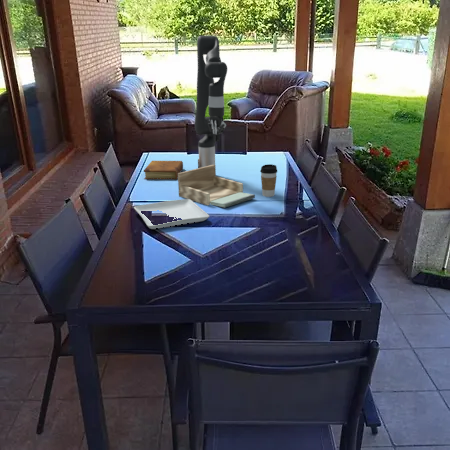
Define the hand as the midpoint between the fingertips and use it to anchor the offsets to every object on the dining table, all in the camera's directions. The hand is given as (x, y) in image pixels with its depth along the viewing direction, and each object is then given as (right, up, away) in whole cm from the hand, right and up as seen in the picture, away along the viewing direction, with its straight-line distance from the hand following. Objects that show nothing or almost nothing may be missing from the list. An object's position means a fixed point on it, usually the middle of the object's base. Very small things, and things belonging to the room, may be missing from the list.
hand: (216, 141), depth 246 cm
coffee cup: (+26, -27, +4) cm, 37 cm away
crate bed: (-3, -27, +4) cm, 27 cm away
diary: (-31, -12, +46) cm, 57 cm away
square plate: (-20, -39, -24) cm, 50 cm away
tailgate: (+4, -29, -3) cm, 29 cm away
